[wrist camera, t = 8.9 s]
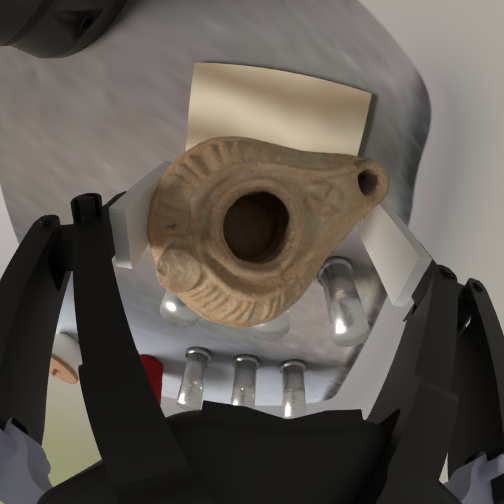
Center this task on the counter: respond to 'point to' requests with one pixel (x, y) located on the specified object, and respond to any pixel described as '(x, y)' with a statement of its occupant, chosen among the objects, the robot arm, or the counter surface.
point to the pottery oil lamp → (254, 223)
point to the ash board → (275, 108)
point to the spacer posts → (244, 384)
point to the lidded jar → (65, 358)
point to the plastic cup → (153, 374)
